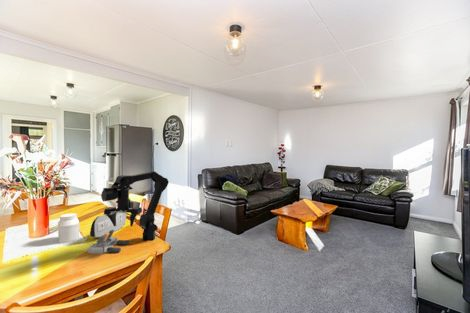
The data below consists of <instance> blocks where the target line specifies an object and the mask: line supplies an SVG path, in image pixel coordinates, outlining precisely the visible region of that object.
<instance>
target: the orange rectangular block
mask: <svg viewBox="0 0 470 313" xmlns="http://www.w3.org/2000/svg"><path fill="white" fill-rule="evenodd" d="M109 234H110V233H108V232H106V233H105V234H104V235H103V236H105V238H104V240H103V241H102V243H103V242H104V241H106V239H107V238H108V236H109Z"/></svg>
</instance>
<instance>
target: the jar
mask: <svg viewBox="0 0 470 313" xmlns="http://www.w3.org/2000/svg"><path fill="white" fill-rule="evenodd" d="M57 231H58V232H57V233H58V234H57V235H58V238H57V240H58V241H59V242H60V243H59V244H68V242H69V243H73V242H75V241H78V240H80V221H79V219H78V213H75V212H73V213H71V212H70V213H64V214H61V215H60V216H59V221H58V222H57Z"/></svg>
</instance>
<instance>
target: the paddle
mask: <svg viewBox="0 0 470 313" xmlns="http://www.w3.org/2000/svg"><path fill="white" fill-rule="evenodd" d="M104 238H105V236H104V235H102V236H101V237H98V239H97V241H96V242H97V243H96V242H95V243H96V244H95V243H94V244H95V245H96V246H98V245H100V244H101V243H102V241H103V240H104Z"/></svg>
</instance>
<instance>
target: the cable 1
mask: <svg viewBox="0 0 470 313" xmlns="http://www.w3.org/2000/svg"><path fill="white" fill-rule="evenodd" d="M121 250H122V247H114V246H113V247H109V248H107V251H106V252H107V253H120V252H121Z"/></svg>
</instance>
